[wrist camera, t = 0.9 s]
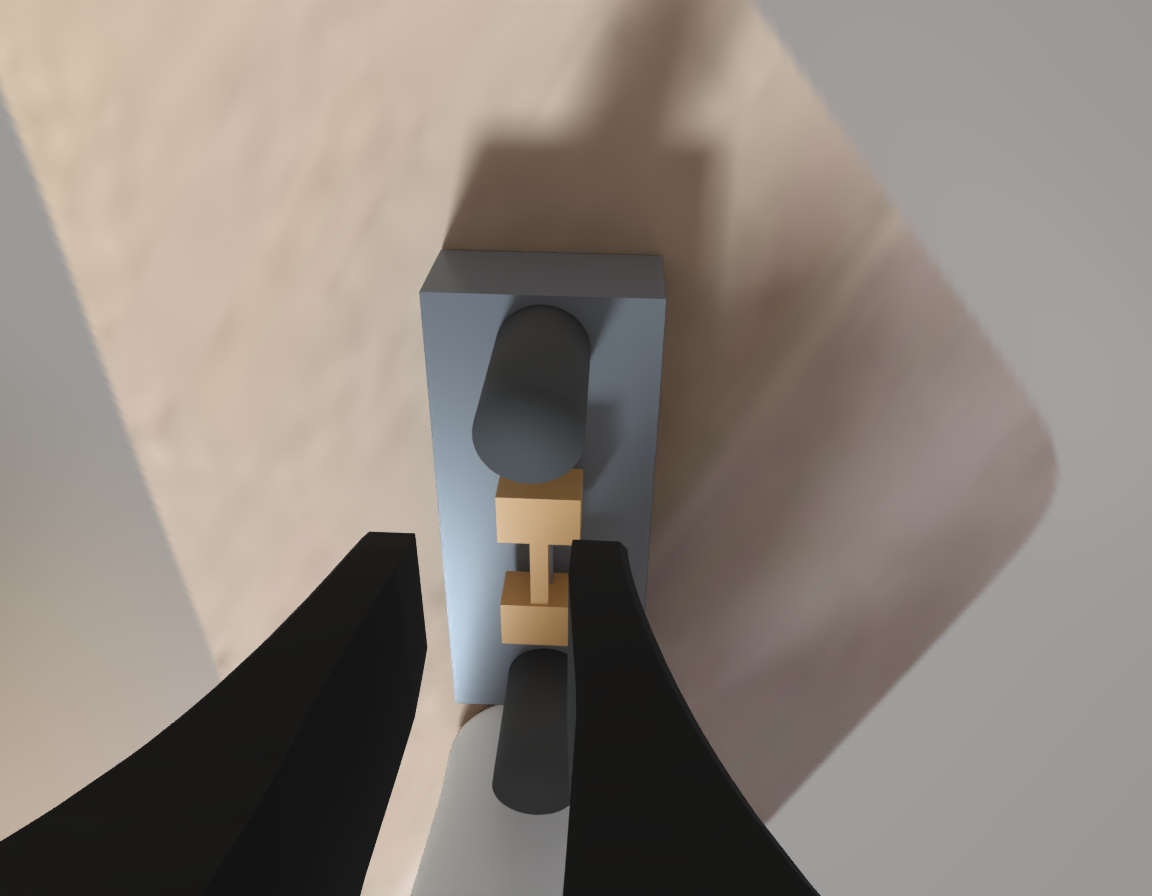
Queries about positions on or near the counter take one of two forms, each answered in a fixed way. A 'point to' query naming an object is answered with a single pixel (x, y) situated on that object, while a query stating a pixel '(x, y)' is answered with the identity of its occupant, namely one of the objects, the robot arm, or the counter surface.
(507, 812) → the drinking glass
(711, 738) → the counter surface
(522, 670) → the cord plug back
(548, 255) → the grey base plate
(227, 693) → the robot arm
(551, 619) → the tan wooden dumbbell piece
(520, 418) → the cord plug front
